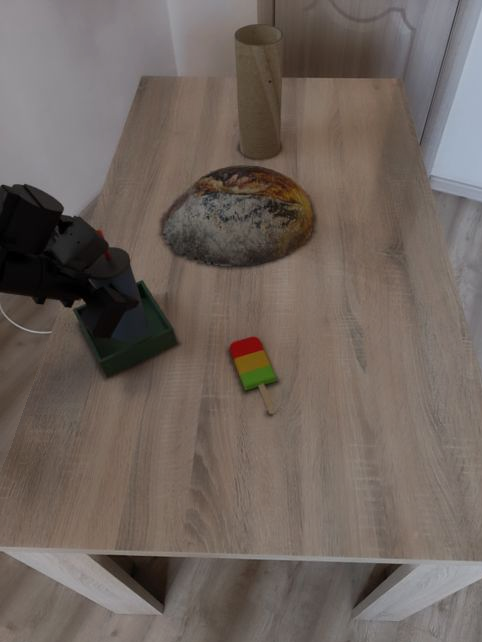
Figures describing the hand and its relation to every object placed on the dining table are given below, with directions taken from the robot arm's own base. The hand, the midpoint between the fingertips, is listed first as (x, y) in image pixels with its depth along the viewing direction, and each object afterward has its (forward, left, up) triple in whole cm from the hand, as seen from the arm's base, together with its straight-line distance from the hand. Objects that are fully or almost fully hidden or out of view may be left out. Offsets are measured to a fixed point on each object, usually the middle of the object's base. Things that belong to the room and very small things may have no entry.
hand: (126, 290), depth 73 cm
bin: (-2, +3, -13) cm, 14 cm away
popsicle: (+13, -17, -14) cm, 25 cm away
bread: (+30, +19, -14) cm, 38 cm away
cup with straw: (-2, -1, -7) cm, 7 cm away
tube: (+48, +40, -14) cm, 64 cm away
